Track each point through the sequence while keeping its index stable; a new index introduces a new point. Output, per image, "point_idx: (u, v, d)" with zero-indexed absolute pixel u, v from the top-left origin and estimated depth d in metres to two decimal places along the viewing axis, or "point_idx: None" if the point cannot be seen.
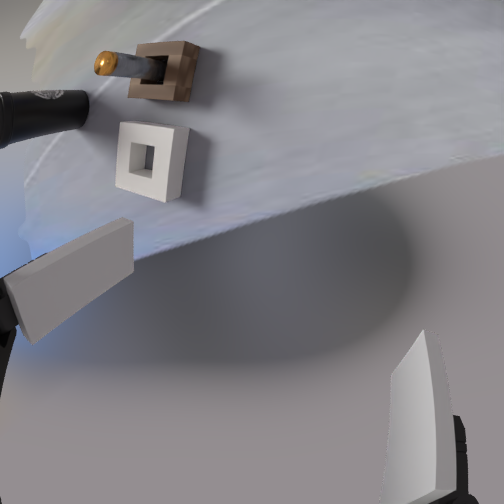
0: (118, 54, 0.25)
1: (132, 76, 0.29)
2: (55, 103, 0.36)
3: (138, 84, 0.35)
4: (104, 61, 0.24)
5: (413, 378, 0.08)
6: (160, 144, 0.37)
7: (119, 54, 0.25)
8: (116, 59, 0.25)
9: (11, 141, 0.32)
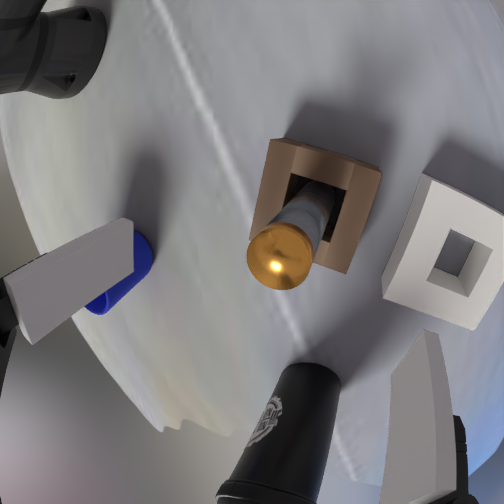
0: (268, 224, 0.15)
1: (323, 226, 0.18)
2: (291, 413, 0.27)
3: (329, 246, 0.23)
4: (276, 253, 0.14)
5: (413, 378, 0.08)
6: (451, 215, 0.18)
7: (269, 223, 0.15)
8: (281, 224, 0.14)
9: (315, 498, 0.19)
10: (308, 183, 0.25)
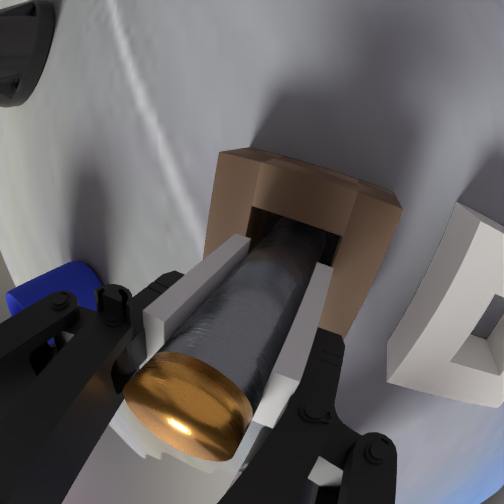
0: (165, 346, 0.07)
1: (291, 319, 0.10)
2: None
3: None
4: (168, 417, 0.06)
5: None
6: (499, 275, 0.10)
7: (168, 342, 0.07)
8: (180, 362, 0.06)
9: None
10: None
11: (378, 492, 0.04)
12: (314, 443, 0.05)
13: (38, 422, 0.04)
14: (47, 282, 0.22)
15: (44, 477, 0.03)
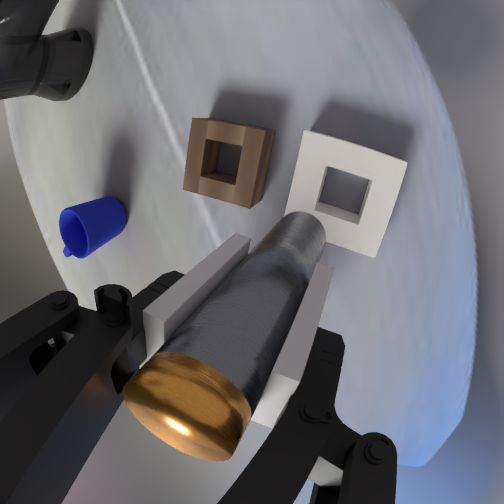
0: (164, 346, 0.07)
1: (291, 320, 0.10)
2: None
3: (235, 187, 0.32)
4: (167, 417, 0.06)
5: None
6: (324, 155, 0.27)
7: (167, 342, 0.07)
8: (178, 362, 0.06)
9: None
10: (285, 216, 0.17)
11: (378, 492, 0.04)
12: (314, 443, 0.05)
13: (38, 422, 0.04)
14: (91, 204, 0.39)
15: (44, 477, 0.03)
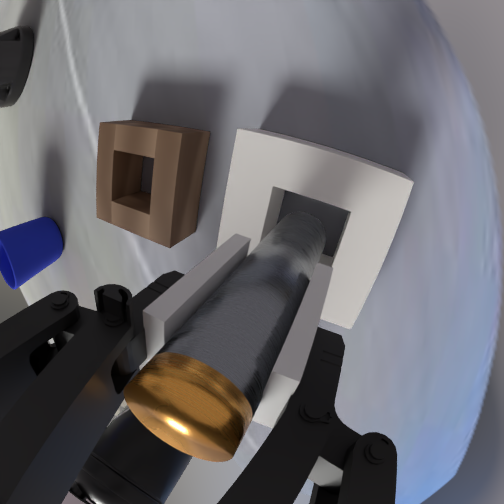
0: (165, 347, 0.07)
1: (291, 320, 0.10)
2: None
3: (149, 218, 0.22)
4: (168, 418, 0.06)
5: None
6: (270, 168, 0.17)
7: (168, 343, 0.07)
8: (180, 363, 0.06)
9: (157, 492, 0.17)
10: (285, 216, 0.17)
11: (378, 492, 0.04)
12: (314, 443, 0.05)
13: (38, 422, 0.04)
14: (21, 227, 0.29)
15: (44, 477, 0.03)
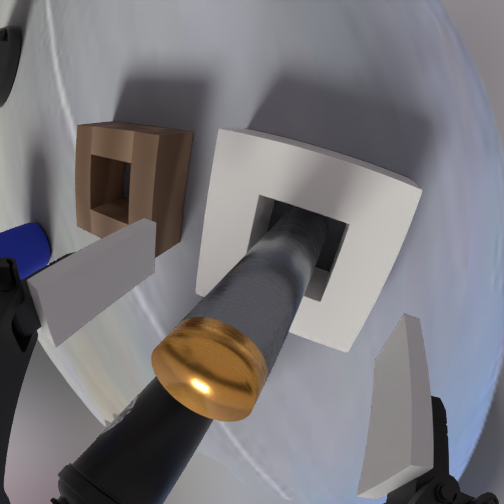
0: (190, 314, 0.08)
1: (298, 297, 0.11)
2: (137, 413, 0.23)
3: None
4: (194, 376, 0.07)
5: (393, 360, 0.09)
6: (256, 174, 0.15)
7: (193, 311, 0.08)
8: (206, 324, 0.07)
9: None
10: (290, 209, 0.18)
11: None
12: None
13: None
14: (7, 234, 0.27)
15: None
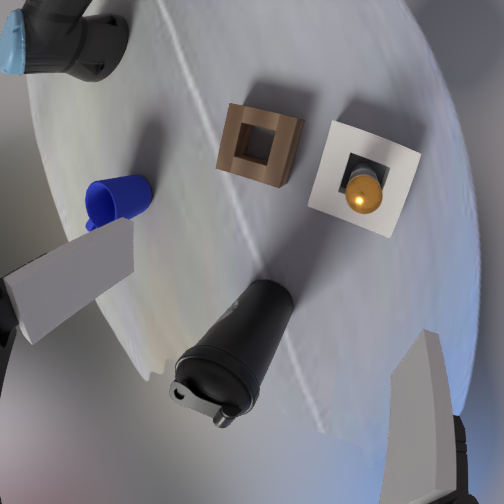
0: (355, 176, 0.23)
1: None
2: (243, 306, 0.38)
3: (266, 168, 0.35)
4: (363, 190, 0.22)
5: (413, 378, 0.08)
6: (349, 143, 0.30)
7: (354, 176, 0.23)
8: (364, 175, 0.22)
9: (257, 376, 0.30)
10: None
11: None
12: None
13: None
14: (120, 179, 0.41)
15: None
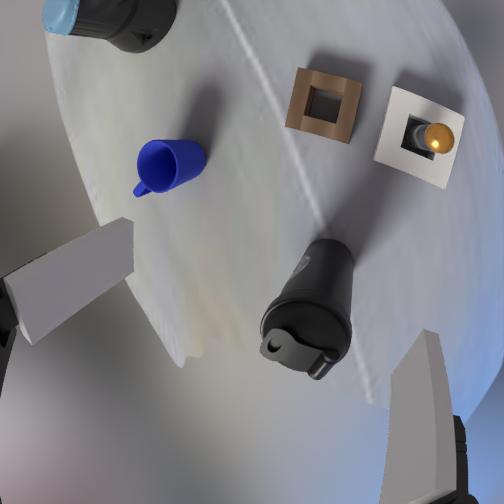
0: (430, 124, 0.23)
1: None
2: (318, 258, 0.38)
3: (335, 126, 0.34)
4: (440, 134, 0.22)
5: (413, 378, 0.08)
6: (408, 105, 0.30)
7: (429, 124, 0.23)
8: None
9: None
10: (411, 127, 0.33)
11: None
12: None
13: None
14: (177, 140, 0.41)
15: None
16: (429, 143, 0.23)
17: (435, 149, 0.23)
